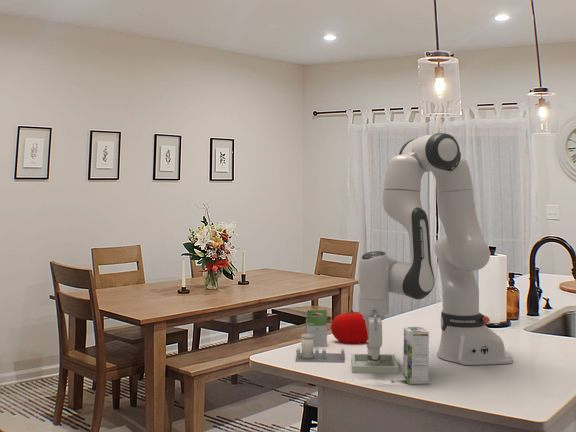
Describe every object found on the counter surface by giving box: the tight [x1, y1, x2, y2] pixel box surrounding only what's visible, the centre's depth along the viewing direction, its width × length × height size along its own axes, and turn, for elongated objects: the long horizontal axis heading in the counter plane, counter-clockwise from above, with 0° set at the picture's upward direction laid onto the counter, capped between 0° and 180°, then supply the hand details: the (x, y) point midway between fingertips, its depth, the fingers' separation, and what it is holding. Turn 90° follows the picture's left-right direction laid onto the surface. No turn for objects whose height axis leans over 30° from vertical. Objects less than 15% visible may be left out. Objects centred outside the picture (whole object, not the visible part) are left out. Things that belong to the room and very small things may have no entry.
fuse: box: [366, 342, 381, 366], centre depth 168 cm, size 4×4×7 cm
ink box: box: [305, 309, 328, 348], centre depth 192 cm, size 7×4×13 cm, turn 92°
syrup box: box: [402, 326, 430, 385], centre depth 157 cm, size 6×6×14 cm
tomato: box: [330, 309, 369, 345], centre depth 198 cm, size 12×14×11 cm
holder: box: [294, 332, 346, 364], centre depth 177 cm, size 15×10×8 cm, turn 84°
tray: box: [350, 353, 399, 375], centre depth 168 cm, size 13×13×3 cm
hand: (373, 354), depth 168 cm, fingers open, 8 cm apart
